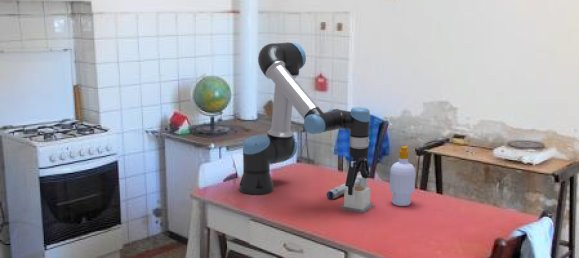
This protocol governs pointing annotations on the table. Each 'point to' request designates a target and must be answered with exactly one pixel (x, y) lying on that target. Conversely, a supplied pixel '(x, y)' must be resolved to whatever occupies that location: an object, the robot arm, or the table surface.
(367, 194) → the nut
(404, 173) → the soap bottle
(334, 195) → the toothbrush head
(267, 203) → the table surface
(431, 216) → the table surface
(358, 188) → the peg on square base
